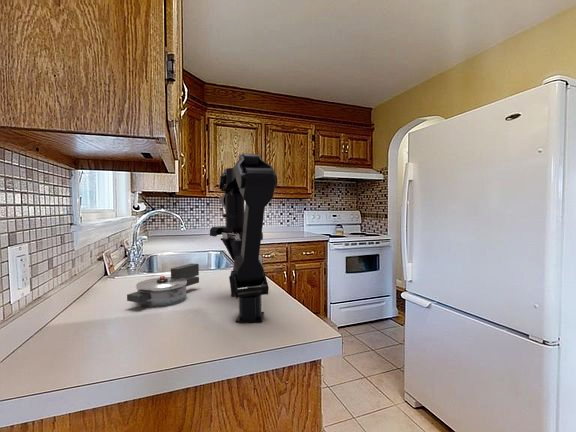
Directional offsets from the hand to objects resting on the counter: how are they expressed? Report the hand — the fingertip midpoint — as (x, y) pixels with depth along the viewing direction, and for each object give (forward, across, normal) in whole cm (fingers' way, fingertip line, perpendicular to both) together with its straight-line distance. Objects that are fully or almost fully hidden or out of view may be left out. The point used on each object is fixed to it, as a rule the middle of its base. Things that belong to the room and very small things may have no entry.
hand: (235, 260), depth 94 cm
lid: (+8, +19, +11) cm, 23 cm away
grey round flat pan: (+13, +18, +12) cm, 26 cm away
